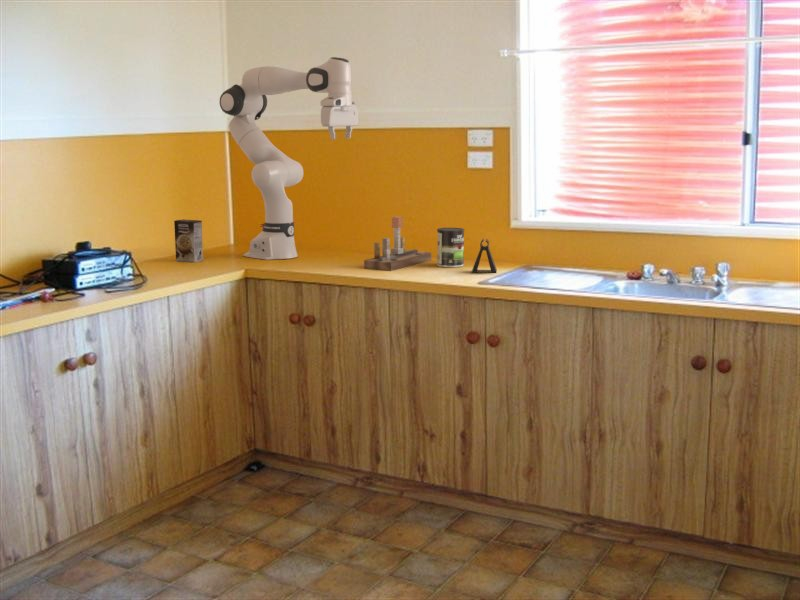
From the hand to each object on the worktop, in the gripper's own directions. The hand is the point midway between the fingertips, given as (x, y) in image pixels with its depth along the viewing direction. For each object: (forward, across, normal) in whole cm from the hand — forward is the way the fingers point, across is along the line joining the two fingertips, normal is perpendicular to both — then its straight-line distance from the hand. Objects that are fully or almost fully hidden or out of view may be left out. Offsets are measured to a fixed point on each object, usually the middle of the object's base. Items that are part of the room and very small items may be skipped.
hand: (340, 138), depth 374 cm
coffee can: (+48, -16, +39) cm, 64 cm away
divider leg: (+44, -8, +20) cm, 49 cm away
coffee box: (+48, +26, -56) cm, 78 cm away
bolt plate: (+48, -9, +20) cm, 53 cm away
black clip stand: (+48, -9, +57) cm, 75 cm away
